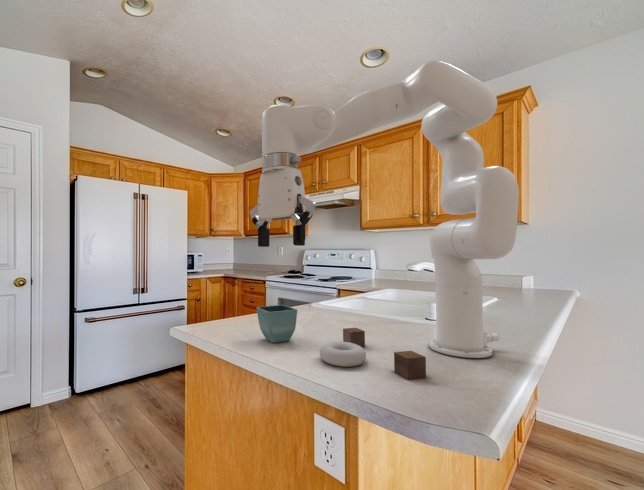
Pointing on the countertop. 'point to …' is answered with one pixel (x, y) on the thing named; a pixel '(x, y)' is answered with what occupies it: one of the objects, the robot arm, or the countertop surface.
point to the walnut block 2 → (410, 364)
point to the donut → (343, 354)
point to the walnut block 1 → (354, 336)
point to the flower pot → (277, 322)
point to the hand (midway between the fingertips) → (280, 246)
